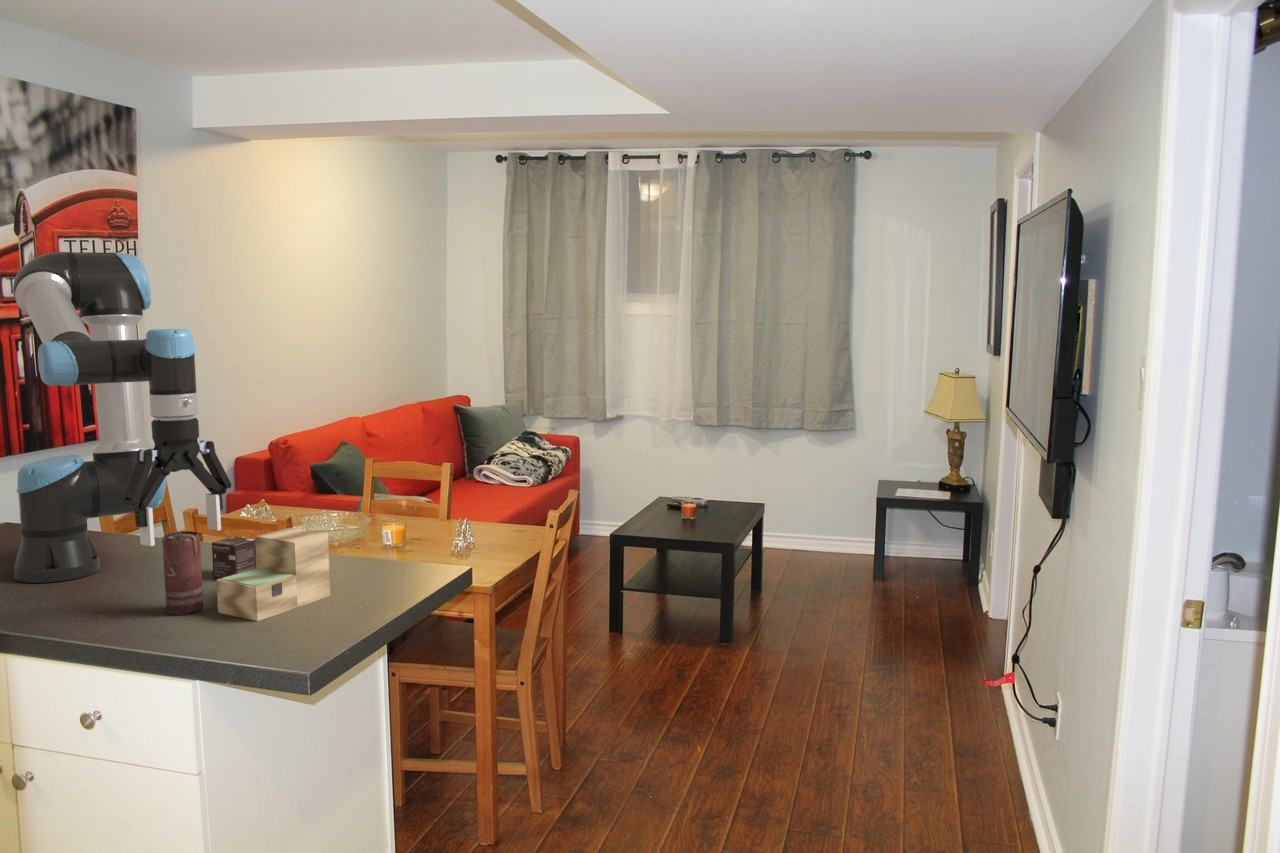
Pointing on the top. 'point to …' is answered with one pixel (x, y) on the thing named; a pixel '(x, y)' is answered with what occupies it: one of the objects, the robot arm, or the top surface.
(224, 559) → the box
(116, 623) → the top surface
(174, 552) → the can
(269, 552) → the stand
